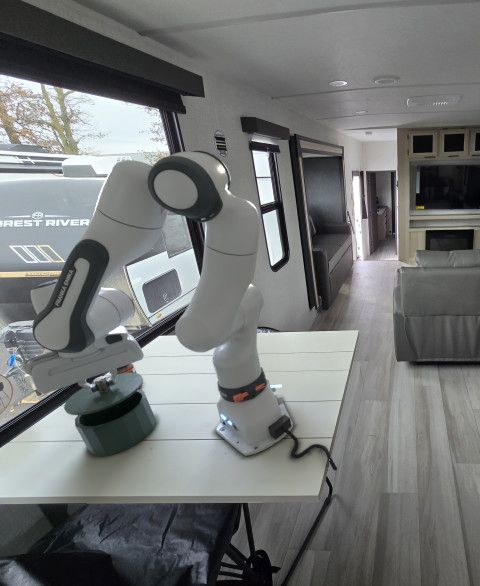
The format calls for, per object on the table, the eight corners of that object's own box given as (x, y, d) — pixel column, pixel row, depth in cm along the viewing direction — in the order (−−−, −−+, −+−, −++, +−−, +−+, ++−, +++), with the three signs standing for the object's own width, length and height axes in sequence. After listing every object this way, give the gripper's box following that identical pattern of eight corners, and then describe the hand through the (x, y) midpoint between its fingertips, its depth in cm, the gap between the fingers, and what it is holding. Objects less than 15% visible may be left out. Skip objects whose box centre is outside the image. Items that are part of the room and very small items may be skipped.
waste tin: (160, 433, 87) (149, 406, 83) (91, 466, 77) (75, 438, 74) (151, 407, 96) (140, 382, 93) (88, 434, 87) (74, 407, 83)
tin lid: (148, 393, 81) (141, 377, 79) (65, 427, 71) (55, 410, 69) (139, 369, 92) (133, 354, 90) (66, 396, 82) (57, 380, 80)
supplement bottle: (146, 383, 107) (135, 356, 103) (131, 395, 102) (118, 367, 97) (130, 383, 108) (118, 355, 103) (115, 394, 102) (101, 366, 98)
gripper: (16, 366, 67) (46, 415, 72) (134, 330, 80) (152, 374, 85) (20, 355, 71) (48, 402, 76) (130, 323, 84) (148, 365, 89)
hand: (104, 387), depth 81 cm, fingers closed on tin lid, 2 cm apart
